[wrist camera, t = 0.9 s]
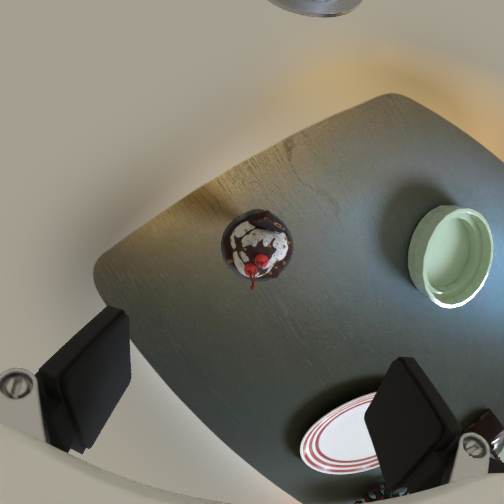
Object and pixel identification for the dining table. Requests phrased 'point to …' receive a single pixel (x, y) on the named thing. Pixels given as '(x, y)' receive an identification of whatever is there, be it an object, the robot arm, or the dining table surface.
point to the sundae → (257, 246)
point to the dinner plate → (341, 440)
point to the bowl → (450, 255)
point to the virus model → (380, 495)
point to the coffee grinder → (488, 431)
